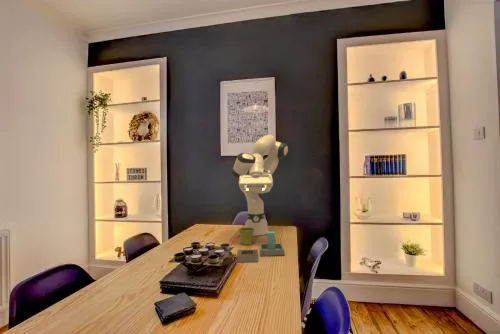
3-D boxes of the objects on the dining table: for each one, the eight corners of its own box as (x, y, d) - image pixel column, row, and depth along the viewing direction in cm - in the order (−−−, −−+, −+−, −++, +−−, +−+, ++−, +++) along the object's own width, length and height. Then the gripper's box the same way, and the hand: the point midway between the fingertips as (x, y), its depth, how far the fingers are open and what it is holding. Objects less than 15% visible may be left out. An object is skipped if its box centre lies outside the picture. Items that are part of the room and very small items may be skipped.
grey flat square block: (238, 255, 131) (237, 249, 132) (257, 255, 131) (257, 249, 131) (236, 262, 121) (236, 256, 122) (257, 262, 121) (257, 255, 121)
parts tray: (260, 249, 141) (259, 243, 141) (281, 248, 141) (281, 243, 141) (260, 256, 129) (260, 250, 129) (284, 255, 129) (284, 249, 129)
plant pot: (248, 246, 147) (248, 231, 147) (235, 244, 153) (235, 229, 153) (257, 243, 154) (257, 228, 155) (245, 240, 160) (245, 226, 160)
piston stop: (267, 250, 137) (267, 231, 138) (275, 250, 137) (274, 231, 137) (267, 252, 133) (267, 233, 134) (275, 252, 133) (274, 233, 133)
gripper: (238, 171, 155) (236, 188, 145) (272, 170, 153) (272, 187, 143) (240, 178, 160) (238, 195, 150) (273, 177, 157) (273, 195, 147)
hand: (255, 191), depth 146 cm, fingers open, 8 cm apart
